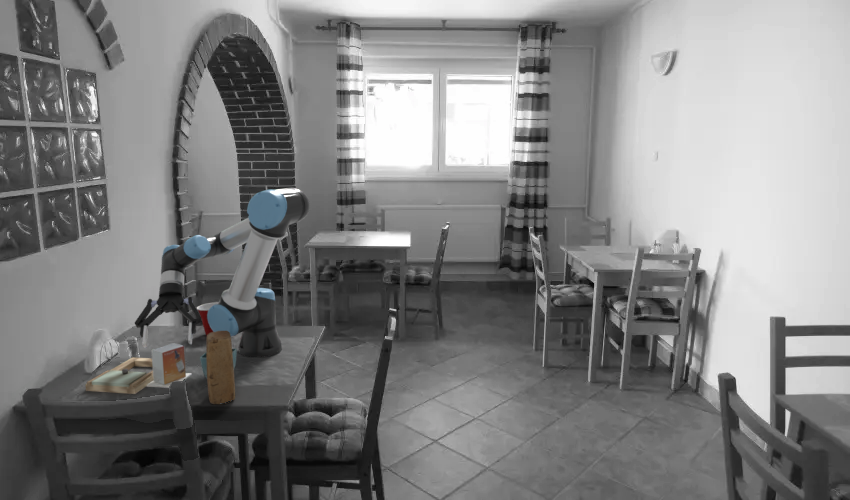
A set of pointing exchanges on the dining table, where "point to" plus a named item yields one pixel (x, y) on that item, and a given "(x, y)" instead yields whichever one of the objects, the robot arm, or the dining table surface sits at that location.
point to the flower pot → (204, 361)
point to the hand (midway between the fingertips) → (167, 344)
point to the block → (220, 367)
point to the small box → (168, 363)
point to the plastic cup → (205, 316)
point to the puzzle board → (123, 378)
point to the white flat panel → (156, 384)
